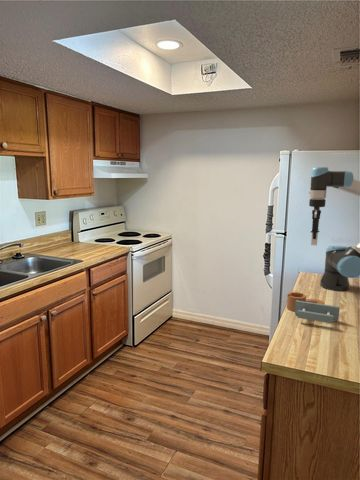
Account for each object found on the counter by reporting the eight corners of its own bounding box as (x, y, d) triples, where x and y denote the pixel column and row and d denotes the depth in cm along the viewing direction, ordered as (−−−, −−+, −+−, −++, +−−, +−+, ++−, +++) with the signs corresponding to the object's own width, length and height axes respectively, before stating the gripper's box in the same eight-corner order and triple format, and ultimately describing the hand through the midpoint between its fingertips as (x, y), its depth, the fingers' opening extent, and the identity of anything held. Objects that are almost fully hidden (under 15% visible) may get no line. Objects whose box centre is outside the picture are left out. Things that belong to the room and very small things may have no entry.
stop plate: (295, 312, 163) (296, 300, 162) (338, 319, 156) (339, 306, 155) (292, 320, 155) (293, 307, 154) (337, 327, 148) (339, 314, 147)
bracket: (292, 313, 165) (293, 298, 164) (283, 306, 173) (284, 292, 172) (327, 310, 168) (328, 296, 167) (317, 303, 176) (318, 290, 175)
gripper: (310, 197, 187) (307, 242, 192) (308, 199, 175) (304, 246, 180) (326, 198, 184) (322, 243, 188) (324, 199, 172) (320, 248, 177)
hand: (314, 244), depth 184 cm, fingers closed
